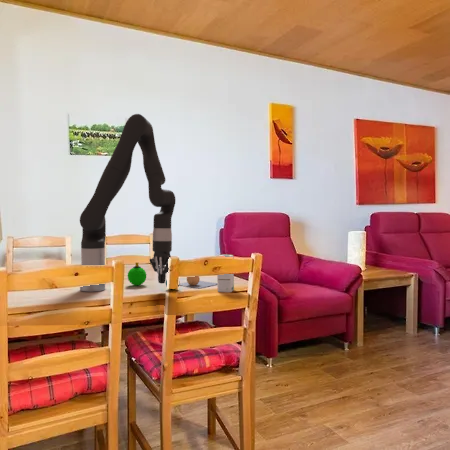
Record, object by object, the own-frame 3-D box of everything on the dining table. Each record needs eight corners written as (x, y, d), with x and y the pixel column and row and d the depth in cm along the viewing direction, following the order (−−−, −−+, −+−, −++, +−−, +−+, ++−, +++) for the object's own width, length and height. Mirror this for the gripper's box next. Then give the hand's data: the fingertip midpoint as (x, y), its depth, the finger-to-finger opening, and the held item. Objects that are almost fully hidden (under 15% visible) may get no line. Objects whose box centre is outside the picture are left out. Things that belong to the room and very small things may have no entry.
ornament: (149, 286, 181) (149, 262, 180) (131, 287, 176) (131, 264, 176) (142, 283, 187) (142, 261, 187) (125, 285, 183) (124, 262, 183)
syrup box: (231, 292, 166) (231, 255, 165) (217, 291, 167) (216, 255, 167) (234, 289, 171) (234, 254, 171) (220, 289, 173) (220, 254, 172)
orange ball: (194, 267, 182) (199, 276, 186) (183, 274, 182) (188, 283, 185) (197, 275, 178) (203, 283, 181) (186, 281, 178) (192, 290, 181)
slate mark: (199, 288, 174) (199, 288, 174) (175, 285, 183) (175, 284, 183) (220, 284, 185) (220, 283, 185) (196, 280, 194) (196, 280, 194)
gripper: (180, 240, 165) (180, 283, 166) (158, 238, 173) (157, 280, 174) (166, 240, 159) (166, 286, 160) (144, 239, 168) (143, 282, 168)
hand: (161, 283), depth 167 cm, fingers closed
